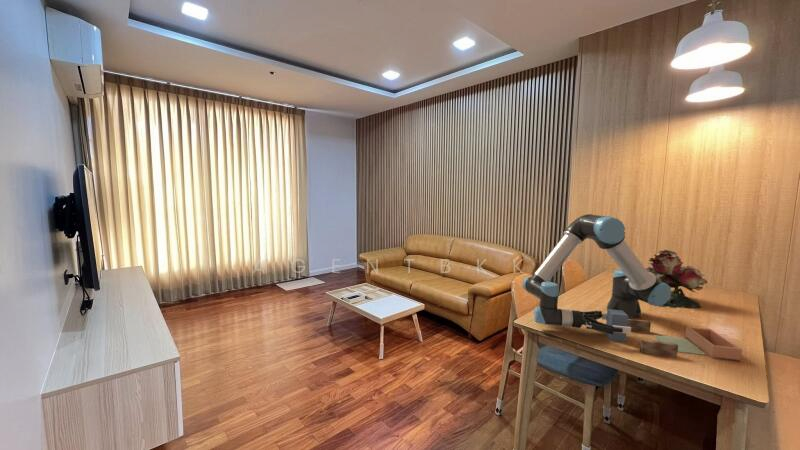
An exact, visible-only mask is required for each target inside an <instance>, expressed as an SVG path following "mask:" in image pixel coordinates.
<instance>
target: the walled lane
mask: <svg viewBox="0 0 800 450" xmlns="http://www.w3.org/2000/svg"><path fill="white" fill-rule="evenodd" d="M651 324H652V322H651V321H650V320H643V319H636V318H628V323H627V327H631V332H643V333H651V326H652V325H651ZM639 352H640V353H641V354H647V355H653V356H663V357H671V358H678V353H679V352H678V345H677V344H675V343H666V342H660V341H658V340H657V341H654V340H648V339H640V349H639Z"/></svg>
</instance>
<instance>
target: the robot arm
mask: <svg viewBox="0 0 800 450" xmlns="http://www.w3.org/2000/svg"><path fill="white" fill-rule="evenodd" d="M586 239H590V240H593V241H594V242H595V244H596V245H597V246H598V247H599V249H600V250H601V249H602V250H605V251H606V252H607V253H608V255H609V256H610V257H611V259H612V260H613V262H615V264H617V266H618V267H619V269H617V270H615V271H614V272H613V277H612V290H611V291H612V293H611V297H610V299H609V300H608V303H607V305H606V310H607V309H613V310H623V311H624V312H625V313H626V314H627V315H628V319H638V318H641V317H642V309H641V306H640V302H639V301H641V302H644V303H647V304H648V305H650V306H654V307H660V306H661V305H663V304H665V303H666V302H667V301H668V300H669V298H670V295H671V291H672V289H671V288H670V286H669V285H668V284H666V283H662V282H660V281H659V280H658V278H657V277H656V276H655V275H654V274H653V273H651V272H648V271H647V270H646V269H647V268H646V267H645V266H644V264H643V263H642V262H641V261H640V259H639V258H638V256H637V254H635V252H634V251H633V250H632V249H631V247H630V246H629V245H628V243H627V242H626V241H625V239H626V226H625V225H624V223H623V222H622V221H621V220H620V219H618V218H616V217H612V216H609V215H599V214H597V215H596V214H591V213H589V214H583V215H581V216H579V217H577V218H576V219H574V220H573V221H572V222H571V223H570V224H569V225H568V226H567V227H566V229H565V230H564V231H563V235H562V237H561V238H560V239H559V241H558V242H557V243H556V244H555V245H554V247H553V249H552V250H551V251H550V252H549V253H548V255H547V256H546V258H545V259H544V260H543V262H541V264H540V265H539V267H538V268H537V269H536V270H535V272H534V273H533V274H532V276H527V277H525V278H523V280H522V288H523V290H524V291H525V292H527V294H531V295H532V296H534V298H537V299H539V306H535V307H534V311H533V317H534V318H533V319H534V322H535V323H536V324H542V325H546V326H547V325H551V326H560V327H563V328H564V327H568V328H569V327H572V328H577V329H581V328H582V326H586V327H585V328H586V329H589V330H593V331H597V332H602V333H604V334H605V333H608V334H613V332H617V333H626V335H627V334H629V335H631V333H632V331H631V327H624V326H615V325H613V326H610V325H607V324H606V323H603V322H601V321H598V320H599V319H601V320H603V321H604V320H605V321H606V320H607V312H606V313H603V312H602V311H601V310H591V311H589V310H588V311H580V310H575V309H574V310H573V309H572V310H570V309H565V308H559V307H558V303H559V294H560V292H559V289H560V288H559V285H558V283H556V282H552V281H551V279H552V278H553V276H554V275H555V274H556V273H557V271H558V270H559V269H560V268H561V266H562V265H563V264H564V263H565V261H566V260H567V258H568V257H570V255H571V254H572V252H573V251H574V250H575V248H576V247H577V246H578V245H580V244H583V242H584V241H585V240H586Z"/></svg>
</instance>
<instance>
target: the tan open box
mask: <svg viewBox="0 0 800 450" xmlns="http://www.w3.org/2000/svg"><path fill="white" fill-rule="evenodd" d="M685 339H687V340H688V341H689V342H691V343H692V344H693V345H694V346H696V347H697V348H698V349H699V350H701V351H702V352H703V353H705V354H706V355H707V356H708V357H710V358H711V359H713V360H714V359H715V360H725V361H731V362H741V360H742V359H741V358H742V357H741V356H742V348H741V347H739V346H738V345H736V344H735V343H733V342H731V341H730V340H728V339H727V338H725V337H723V336H722V335H721V334H719V332H716V331H715V330H713V329H710V328H700V327H692V326H686V329H685Z"/></svg>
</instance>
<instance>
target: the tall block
mask: <svg viewBox="0 0 800 450" xmlns="http://www.w3.org/2000/svg"><path fill="white" fill-rule="evenodd" d="M606 314H607V320H605V321H606V322H605V324H607V325H610V326H613V325H615V326H624V327H627V323H628V319H629V318H628V315H627V314H626V313H625V312H624V311H623V310H613V309H607V308H606ZM604 334H605V336H606V337H607V339H608V340H609V341H614V342H621V343H626V342H627V334H626V333H617V332H613V334H608V333H605V332H604Z"/></svg>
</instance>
